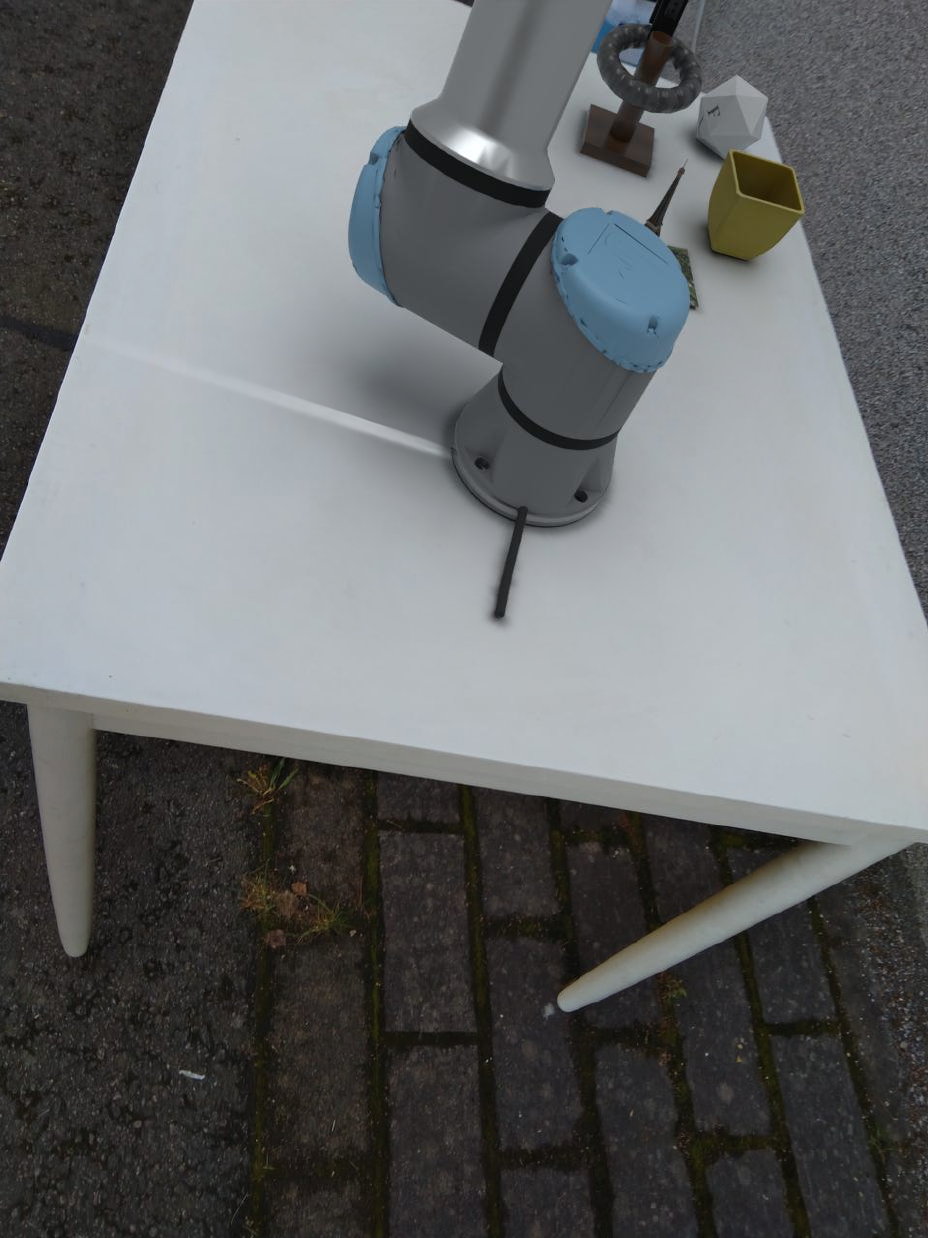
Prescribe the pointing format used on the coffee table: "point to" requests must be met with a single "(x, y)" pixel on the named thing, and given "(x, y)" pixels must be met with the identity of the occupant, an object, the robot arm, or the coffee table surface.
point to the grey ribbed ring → (639, 91)
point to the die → (731, 116)
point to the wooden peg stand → (628, 117)
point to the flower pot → (752, 205)
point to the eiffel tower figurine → (680, 253)
